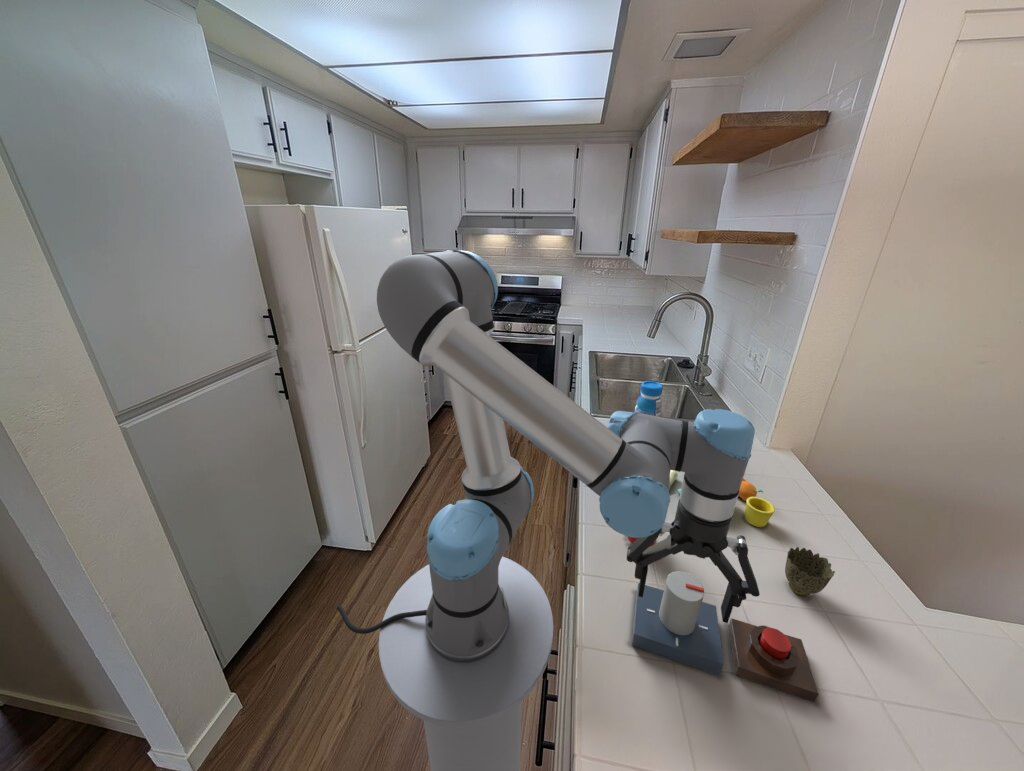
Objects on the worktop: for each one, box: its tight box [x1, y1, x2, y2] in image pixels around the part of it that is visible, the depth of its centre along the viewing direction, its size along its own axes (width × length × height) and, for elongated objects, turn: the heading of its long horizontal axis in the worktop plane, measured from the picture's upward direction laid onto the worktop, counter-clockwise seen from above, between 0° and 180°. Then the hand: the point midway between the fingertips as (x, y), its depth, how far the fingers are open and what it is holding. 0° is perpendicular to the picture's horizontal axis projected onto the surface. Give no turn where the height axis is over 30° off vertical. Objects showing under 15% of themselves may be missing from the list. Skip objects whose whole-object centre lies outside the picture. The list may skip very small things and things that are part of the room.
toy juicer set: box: [669, 470, 776, 528], centre depth 103 cm, size 29×18×8 cm, turn 71°
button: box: [760, 627, 791, 660], centre depth 64 cm, size 4×4×2 cm
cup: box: [784, 546, 836, 598], centre depth 76 cm, size 8×7×8 cm
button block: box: [728, 617, 820, 703], centre depth 65 cm, size 11×9×4 cm
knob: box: [659, 570, 705, 635], centre depth 67 cm, size 6×6×9 cm
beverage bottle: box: [634, 380, 664, 417], centre depth 129 cm, size 8×8×20 cm
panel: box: [631, 582, 724, 676], centre depth 70 cm, size 14×11×3 cm
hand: (681, 602), depth 67 cm, fingers open, 13 cm apart
